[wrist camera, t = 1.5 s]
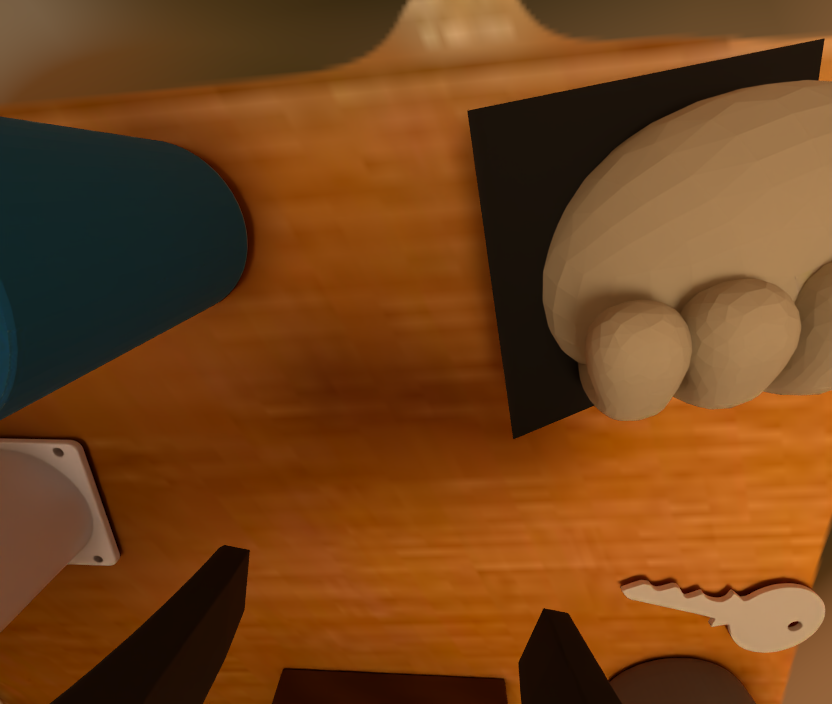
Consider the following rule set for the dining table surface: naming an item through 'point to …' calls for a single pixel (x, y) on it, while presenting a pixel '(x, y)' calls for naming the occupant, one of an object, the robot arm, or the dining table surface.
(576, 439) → the dining table surface
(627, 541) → the dining table surface
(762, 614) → the key
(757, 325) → the decorative object
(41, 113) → the dining table surface
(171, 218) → the beverage can
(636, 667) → the mug
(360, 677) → the shelf
